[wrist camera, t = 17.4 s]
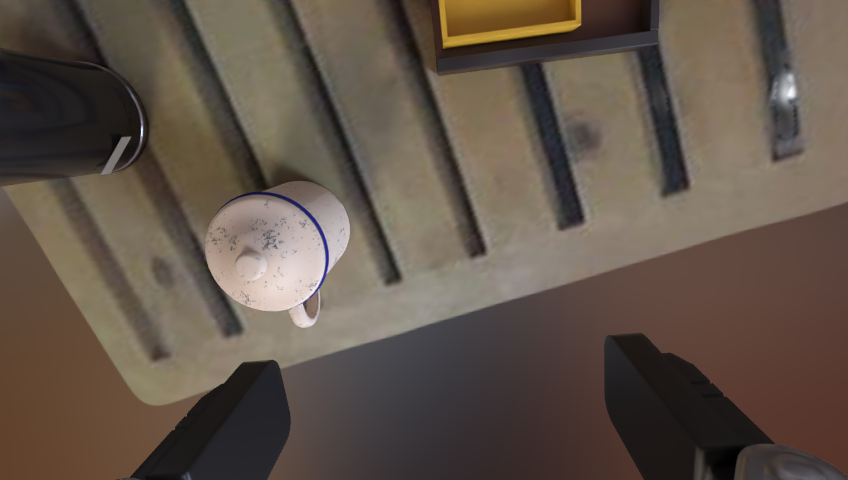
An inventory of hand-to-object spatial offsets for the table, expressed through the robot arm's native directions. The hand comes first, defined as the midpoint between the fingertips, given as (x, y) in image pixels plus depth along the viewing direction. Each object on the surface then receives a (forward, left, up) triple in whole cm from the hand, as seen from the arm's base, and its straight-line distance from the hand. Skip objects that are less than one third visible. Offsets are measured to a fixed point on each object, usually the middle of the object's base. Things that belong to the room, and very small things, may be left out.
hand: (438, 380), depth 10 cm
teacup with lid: (-13, -3, -28) cm, 31 cm away
